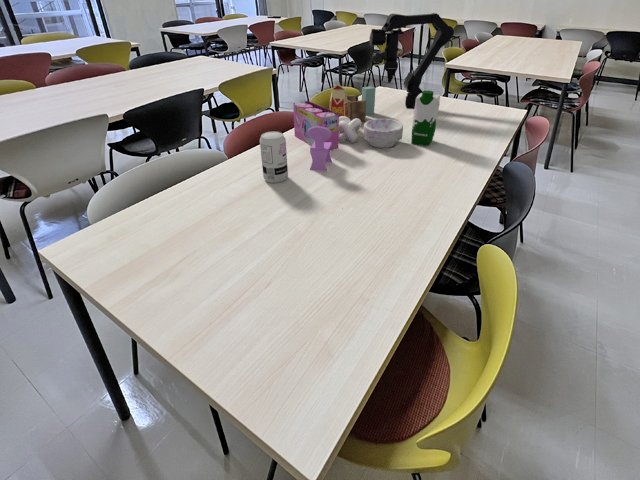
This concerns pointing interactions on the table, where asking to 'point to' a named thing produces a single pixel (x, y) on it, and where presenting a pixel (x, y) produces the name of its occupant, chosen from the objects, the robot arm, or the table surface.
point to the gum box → (315, 122)
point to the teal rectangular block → (369, 99)
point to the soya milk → (425, 118)
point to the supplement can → (274, 157)
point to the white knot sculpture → (348, 128)
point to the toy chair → (320, 147)
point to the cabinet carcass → (356, 108)
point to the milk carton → (339, 101)
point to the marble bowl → (383, 132)
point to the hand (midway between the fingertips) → (388, 80)
